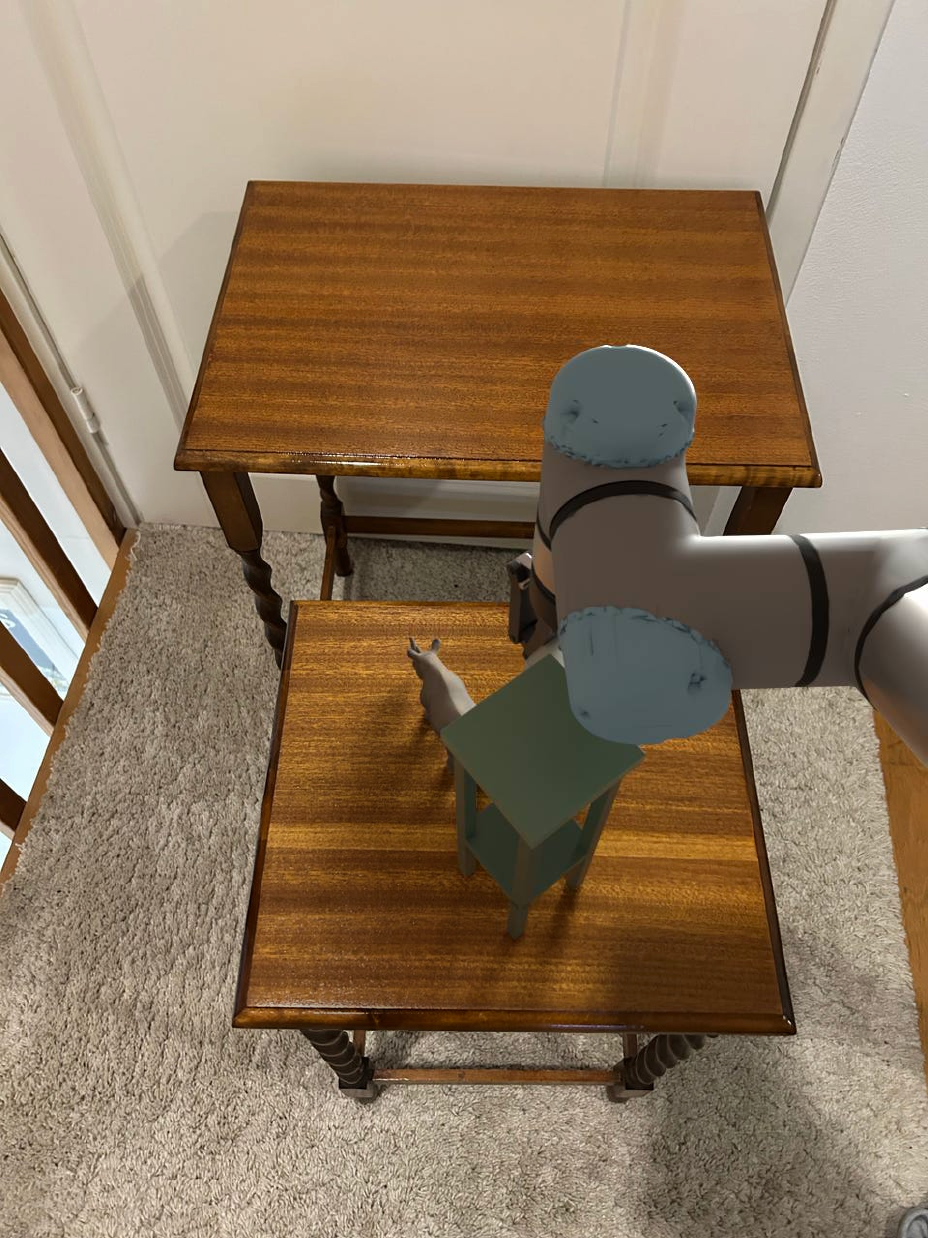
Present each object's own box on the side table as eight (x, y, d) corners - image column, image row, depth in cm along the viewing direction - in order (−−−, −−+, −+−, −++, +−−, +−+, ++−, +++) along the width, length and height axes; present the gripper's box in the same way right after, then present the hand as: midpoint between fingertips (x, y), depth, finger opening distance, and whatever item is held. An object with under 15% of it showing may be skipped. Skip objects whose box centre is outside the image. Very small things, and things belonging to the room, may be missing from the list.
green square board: (642, 762, 52) (646, 753, 51) (532, 850, 49) (533, 843, 48) (548, 662, 55) (550, 652, 54) (440, 739, 52) (439, 730, 51)
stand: (583, 883, 73) (631, 756, 51) (514, 940, 71) (533, 833, 49) (525, 815, 76) (548, 667, 54) (457, 868, 74) (452, 736, 52)
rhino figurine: (435, 643, 84) (433, 608, 79) (502, 774, 78) (504, 745, 73) (393, 660, 83) (388, 626, 78) (457, 794, 77) (456, 766, 72)
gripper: (734, 624, 57) (665, 771, 77) (545, 451, 64) (527, 626, 84) (644, 692, 54) (597, 826, 74) (458, 504, 62) (461, 672, 81)
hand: (560, 720), depth 79 cm, fingers closed on cosmetic box, 5 cm apart
